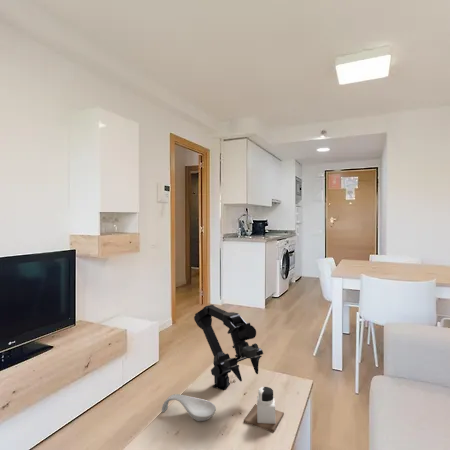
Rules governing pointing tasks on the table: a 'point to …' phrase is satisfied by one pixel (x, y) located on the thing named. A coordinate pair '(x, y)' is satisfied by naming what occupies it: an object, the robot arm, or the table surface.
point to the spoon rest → (193, 406)
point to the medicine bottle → (265, 406)
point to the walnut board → (252, 420)
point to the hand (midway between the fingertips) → (249, 377)
